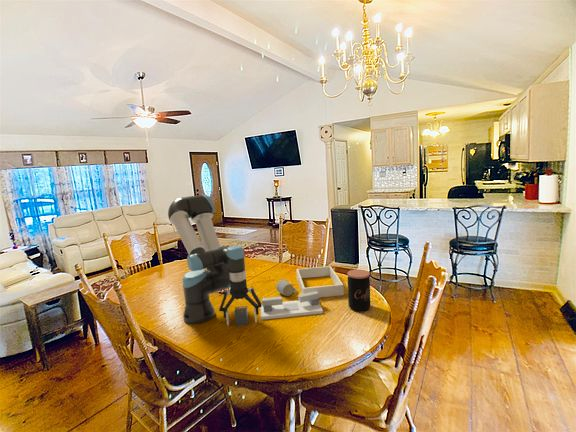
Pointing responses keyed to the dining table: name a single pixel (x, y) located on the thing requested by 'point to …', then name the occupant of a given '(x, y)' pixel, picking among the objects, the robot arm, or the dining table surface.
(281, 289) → the ceramic mug
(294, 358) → the dining table surface
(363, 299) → the coffee jar
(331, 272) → the tray
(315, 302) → the white base plate
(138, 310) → the dining table surface
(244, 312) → the dark grey block
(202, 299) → the robot arm
